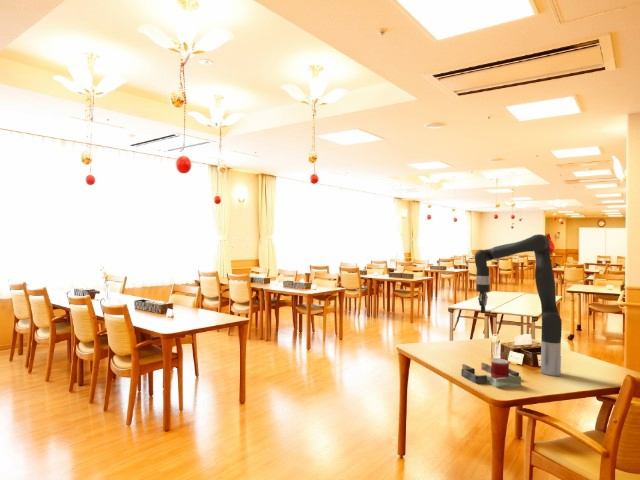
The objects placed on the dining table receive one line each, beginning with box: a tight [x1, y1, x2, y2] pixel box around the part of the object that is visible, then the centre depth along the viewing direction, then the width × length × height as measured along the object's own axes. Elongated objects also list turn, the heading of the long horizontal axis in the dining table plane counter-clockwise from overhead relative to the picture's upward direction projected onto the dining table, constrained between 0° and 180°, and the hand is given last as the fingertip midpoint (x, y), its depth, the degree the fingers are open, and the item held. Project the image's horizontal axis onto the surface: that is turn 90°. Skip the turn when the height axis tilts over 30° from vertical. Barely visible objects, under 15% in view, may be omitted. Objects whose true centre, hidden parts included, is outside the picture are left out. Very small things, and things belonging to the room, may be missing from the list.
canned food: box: [490, 358, 510, 379], centre depth 211 cm, size 8×8×11 cm
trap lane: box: [460, 362, 522, 389], centre depth 218 cm, size 28×25×4 cm
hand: (483, 312), depth 250 cm, fingers closed
